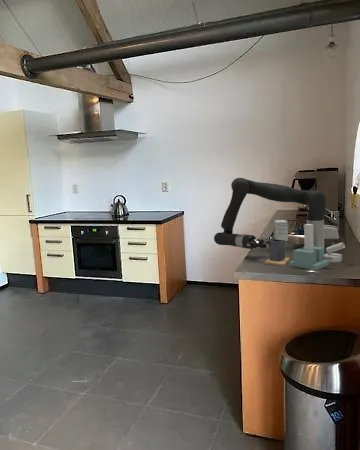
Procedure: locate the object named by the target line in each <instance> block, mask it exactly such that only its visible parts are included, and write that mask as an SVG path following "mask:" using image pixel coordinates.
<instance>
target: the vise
mask: <svg viewBox="0 0 360 450" xmlns="http://www.w3.org/2000/svg"><path fill="white" fill-rule="evenodd" d="M303 226H304V227H303V229H304V230H303V231H304V232H303V233H304V235H303V238H304V240H303V241H304V245H303V246H302V247H301V248H297V249H293V250H292V252H293V253H292V254H293V257H292V258H293V260H289V261H288V262H289V267H293V268H294V267H296V268H301V269H306V270H311V271H312V270H313V271H318V270H320V269H322V268H325V267H327V266H329V265H330V262H329V261H327V260H331V259H332V257H331V256H324V254H325V247H324V248H322V247H314V246H313V224H307V223H306V224H305V223H304V224H303ZM324 259H327V260H324Z"/></svg>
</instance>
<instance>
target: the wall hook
mask: <svg viewBox="0 0 360 450" xmlns="http://www.w3.org/2000/svg"><path fill="white" fill-rule="evenodd" d="M345 248H346V246H345V243H344V242H339V243H336V244H333V245H331V246H327V247H326V248H325V252H326V253H324V256H331V257H332V259H331V260H327V259H324V260H327V261H329V263H341V262H342V261H343V254H341V253H334V252H336V251H340V250H343V249H345ZM340 261H341V262H340Z"/></svg>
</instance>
